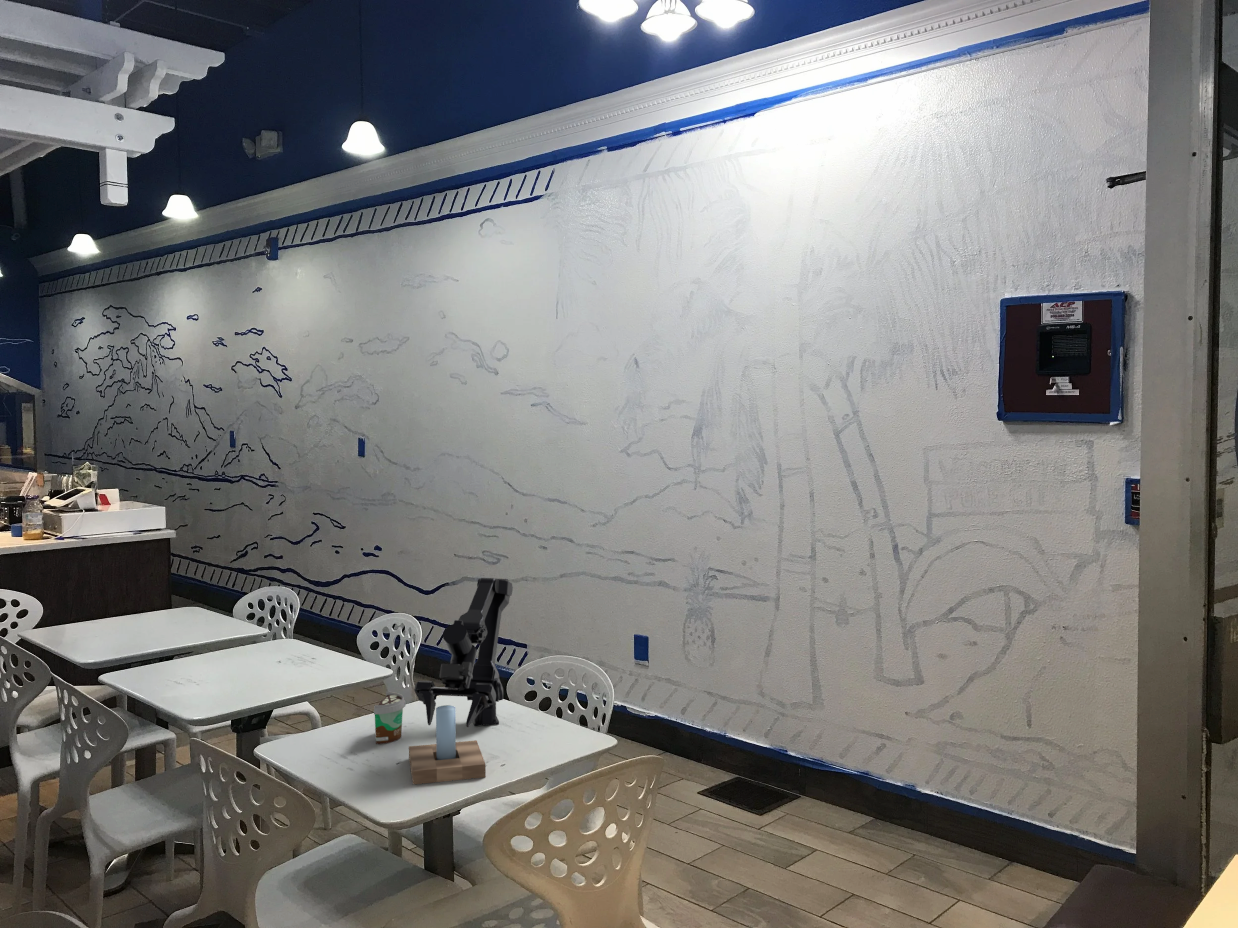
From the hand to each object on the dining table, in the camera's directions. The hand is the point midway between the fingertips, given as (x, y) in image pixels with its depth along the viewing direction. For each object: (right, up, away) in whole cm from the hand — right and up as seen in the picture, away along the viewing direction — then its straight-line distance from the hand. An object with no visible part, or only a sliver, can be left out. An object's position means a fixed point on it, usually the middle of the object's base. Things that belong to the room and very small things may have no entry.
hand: (447, 725), depth 223 cm
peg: (0, -10, -1) cm, 10 cm away
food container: (-17, -9, +19) cm, 27 cm away
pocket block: (0, -10, -1) cm, 10 cm away
